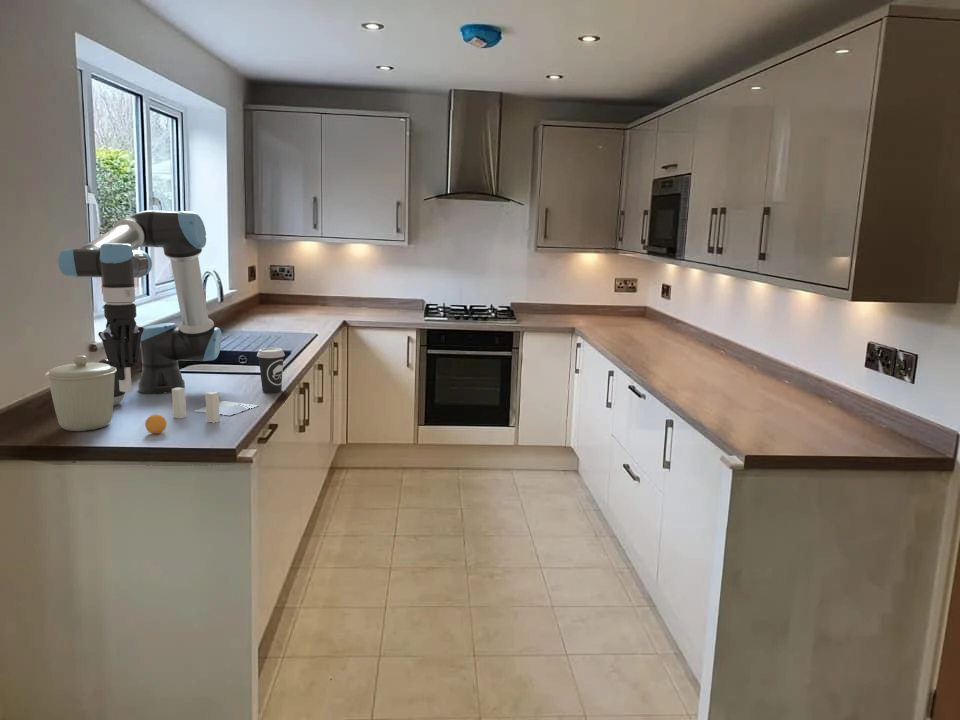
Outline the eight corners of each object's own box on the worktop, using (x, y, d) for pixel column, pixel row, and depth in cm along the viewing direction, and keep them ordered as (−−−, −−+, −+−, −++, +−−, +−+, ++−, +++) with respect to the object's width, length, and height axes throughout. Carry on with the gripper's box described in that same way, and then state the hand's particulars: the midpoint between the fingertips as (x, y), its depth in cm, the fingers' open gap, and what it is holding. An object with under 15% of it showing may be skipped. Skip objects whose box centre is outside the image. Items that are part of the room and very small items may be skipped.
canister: (114, 433, 202) (108, 360, 198) (42, 437, 197) (34, 362, 193) (126, 416, 219) (121, 349, 215) (59, 420, 214) (53, 350, 210)
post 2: (212, 420, 217) (211, 391, 216) (219, 421, 217) (218, 392, 215) (206, 422, 215) (205, 393, 213) (213, 423, 214) (212, 394, 212)
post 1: (179, 415, 222) (177, 387, 220) (186, 416, 221) (184, 388, 219) (173, 417, 219) (171, 389, 218) (180, 418, 218) (178, 389, 217)
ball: (156, 429, 207) (155, 411, 206) (171, 432, 205) (170, 413, 204) (141, 434, 202) (140, 415, 200) (156, 437, 200) (155, 418, 199)
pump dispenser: (111, 410, 226) (108, 362, 223) (83, 407, 228) (79, 360, 225) (133, 402, 236) (130, 357, 233) (105, 400, 238) (102, 355, 235)
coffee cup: (285, 387, 262) (283, 346, 259) (286, 393, 253) (285, 351, 250) (257, 388, 259) (256, 347, 256) (258, 394, 250) (256, 352, 247)
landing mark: (223, 401, 240) (223, 400, 240) (258, 406, 235) (258, 405, 235) (194, 411, 227) (194, 410, 227) (230, 416, 222) (230, 415, 222)
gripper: (110, 306, 180) (116, 397, 184) (150, 301, 192) (155, 387, 196) (87, 304, 182) (94, 394, 187) (128, 300, 194) (134, 385, 199)
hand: (125, 391), depth 191 cm, fingers closed
